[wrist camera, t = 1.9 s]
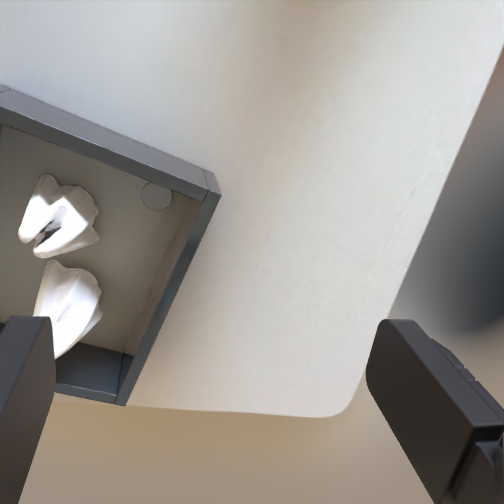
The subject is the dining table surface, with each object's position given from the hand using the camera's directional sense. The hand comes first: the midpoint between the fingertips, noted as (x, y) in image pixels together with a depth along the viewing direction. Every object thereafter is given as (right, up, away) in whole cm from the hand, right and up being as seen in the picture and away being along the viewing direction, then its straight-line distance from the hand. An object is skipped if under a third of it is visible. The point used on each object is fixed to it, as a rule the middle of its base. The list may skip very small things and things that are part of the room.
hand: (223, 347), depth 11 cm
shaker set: (-14, +3, +24) cm, 28 cm away
